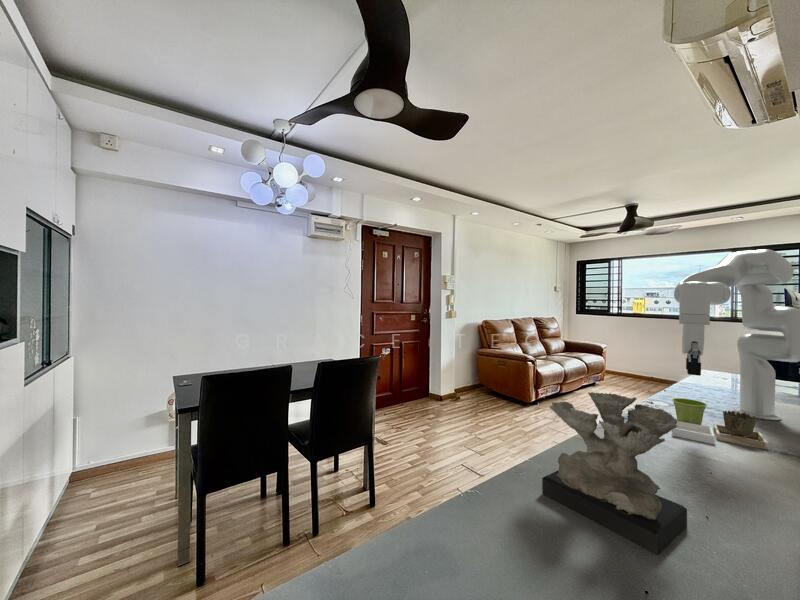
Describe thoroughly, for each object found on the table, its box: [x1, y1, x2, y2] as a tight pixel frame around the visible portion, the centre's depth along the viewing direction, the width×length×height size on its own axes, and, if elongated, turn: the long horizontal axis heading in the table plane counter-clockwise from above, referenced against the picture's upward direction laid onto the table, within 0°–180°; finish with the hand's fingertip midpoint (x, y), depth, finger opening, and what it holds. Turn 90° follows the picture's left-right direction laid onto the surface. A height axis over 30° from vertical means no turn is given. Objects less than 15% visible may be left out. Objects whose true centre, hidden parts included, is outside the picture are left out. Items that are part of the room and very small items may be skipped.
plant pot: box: [671, 397, 708, 425], centre depth 118 cm, size 9×9×9 cm
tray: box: [671, 421, 716, 445], centre depth 110 cm, size 10×10×2 cm
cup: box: [722, 410, 757, 439], centre depth 108 cm, size 8×7×8 cm
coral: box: [541, 392, 688, 556], centre depth 72 cm, size 25×20×22 cm
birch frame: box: [712, 423, 769, 451], centre depth 108 cm, size 11×11×2 cm
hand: (693, 372), depth 110 cm, fingers open, 9 cm apart
